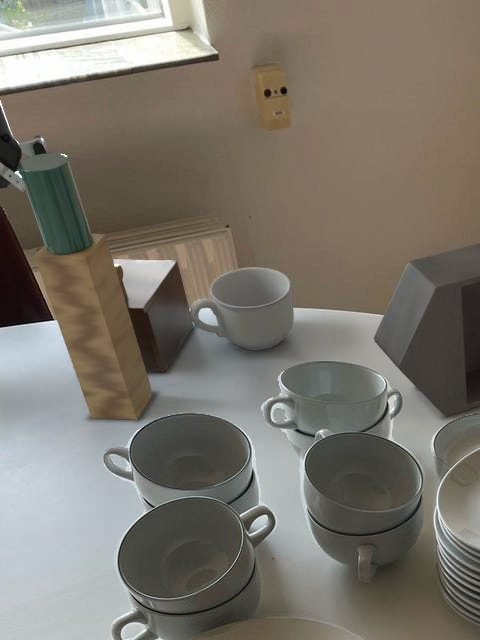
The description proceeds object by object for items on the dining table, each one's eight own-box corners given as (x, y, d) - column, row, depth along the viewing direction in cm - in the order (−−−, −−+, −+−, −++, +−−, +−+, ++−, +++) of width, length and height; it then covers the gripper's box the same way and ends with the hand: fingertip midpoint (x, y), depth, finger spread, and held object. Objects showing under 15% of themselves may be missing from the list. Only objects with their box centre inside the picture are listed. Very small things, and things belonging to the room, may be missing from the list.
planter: (391, 299, 111) (554, 255, 117) (365, 271, 116) (523, 231, 122) (405, 429, 123) (552, 384, 129) (380, 399, 128) (523, 357, 134)
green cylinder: (38, 254, 112) (9, 171, 106) (57, 234, 116) (30, 152, 110) (83, 255, 112) (56, 171, 105) (100, 235, 115) (75, 153, 109)
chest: (164, 372, 134) (147, 311, 128) (88, 370, 135) (67, 309, 129) (193, 326, 143) (178, 266, 137) (122, 324, 144) (104, 265, 138)
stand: (91, 418, 127) (33, 255, 112) (108, 392, 131) (55, 232, 116) (137, 419, 126) (85, 256, 112) (153, 393, 131) (105, 233, 116)
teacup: (291, 314, 145) (282, 260, 139) (306, 350, 137) (297, 295, 132) (194, 332, 142) (180, 278, 136) (204, 370, 134) (190, 314, 129)
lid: (144, 314, 127) (133, 274, 124) (65, 312, 128) (51, 273, 125) (178, 266, 137) (169, 228, 133) (104, 264, 138) (92, 226, 134)
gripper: (27, 71, 112) (74, 217, 123) (-109, 88, 109) (-48, 236, 121) (26, 91, 107) (75, 242, 118) (-117, 110, 104) (-52, 262, 116)
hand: (13, 239), depth 119 cm, fingers open, 8 cm apart
